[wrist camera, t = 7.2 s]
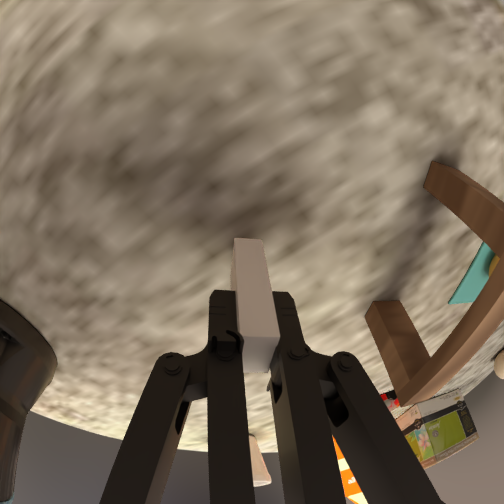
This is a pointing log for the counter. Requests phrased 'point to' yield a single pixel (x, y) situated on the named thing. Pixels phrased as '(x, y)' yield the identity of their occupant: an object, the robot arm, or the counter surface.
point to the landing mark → (474, 277)
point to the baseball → (499, 365)
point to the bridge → (476, 318)
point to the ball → (493, 264)
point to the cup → (258, 464)
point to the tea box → (438, 428)
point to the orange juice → (349, 480)
